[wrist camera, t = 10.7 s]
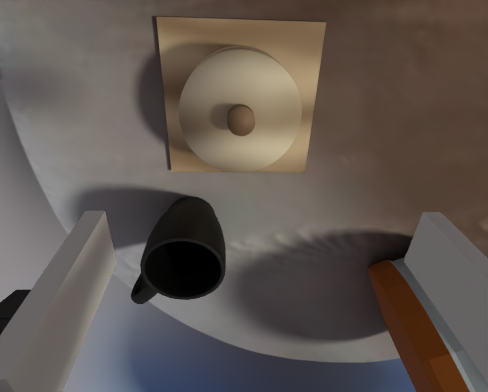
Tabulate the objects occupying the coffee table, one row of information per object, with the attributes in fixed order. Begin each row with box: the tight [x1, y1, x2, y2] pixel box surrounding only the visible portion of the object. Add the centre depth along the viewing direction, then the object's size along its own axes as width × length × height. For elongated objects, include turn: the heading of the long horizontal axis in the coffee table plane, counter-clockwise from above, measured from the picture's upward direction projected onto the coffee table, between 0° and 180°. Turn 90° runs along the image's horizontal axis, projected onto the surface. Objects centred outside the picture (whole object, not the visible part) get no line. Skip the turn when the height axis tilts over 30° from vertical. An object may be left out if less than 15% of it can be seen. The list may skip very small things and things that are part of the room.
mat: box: [156, 17, 326, 172], centre depth 32 cm, size 15×15×1 cm
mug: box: [131, 197, 226, 304], centre depth 35 cm, size 8×12×10 cm
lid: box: [179, 45, 302, 172], centre depth 30 cm, size 11×11×6 cm
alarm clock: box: [368, 253, 488, 392], centre depth 38 cm, size 22×10×23 cm, turn 24°
